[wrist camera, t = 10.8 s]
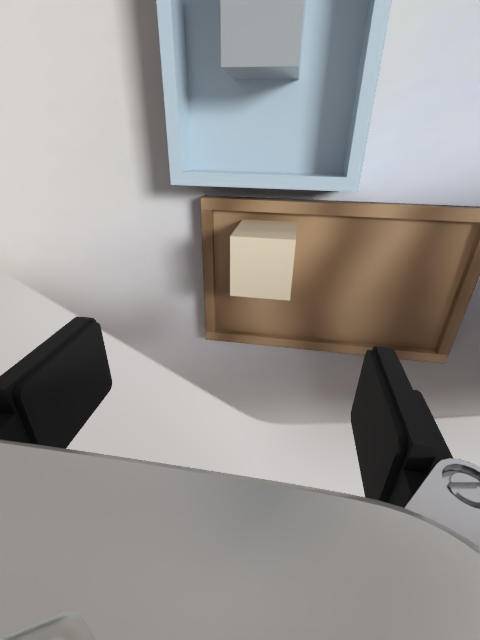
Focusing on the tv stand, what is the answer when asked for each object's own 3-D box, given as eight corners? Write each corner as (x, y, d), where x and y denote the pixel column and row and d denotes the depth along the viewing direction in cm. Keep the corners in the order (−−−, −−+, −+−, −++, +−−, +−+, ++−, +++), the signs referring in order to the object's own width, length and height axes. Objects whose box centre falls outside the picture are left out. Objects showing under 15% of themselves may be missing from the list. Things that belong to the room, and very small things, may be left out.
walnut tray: (494, 207, 22) (504, 210, 21) (439, 355, 28) (445, 363, 27) (204, 195, 25) (200, 197, 24) (209, 332, 30) (206, 339, 29)
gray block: (310, -80, 14) (298, 66, 16) (308, -36, 18) (299, 79, 20) (219, -73, 15) (221, 67, 17) (235, -32, 18) (234, 79, 20)
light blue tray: (392, -62, 17) (409, -99, 14) (351, 186, 23) (357, 191, 20) (170, -49, 19) (149, -80, 16) (184, 180, 24) (170, 184, 22)
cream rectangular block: (296, 222, 24) (295, 239, 20) (291, 274, 26) (290, 300, 22) (242, 219, 24) (230, 236, 20) (241, 270, 26) (230, 295, 22)
